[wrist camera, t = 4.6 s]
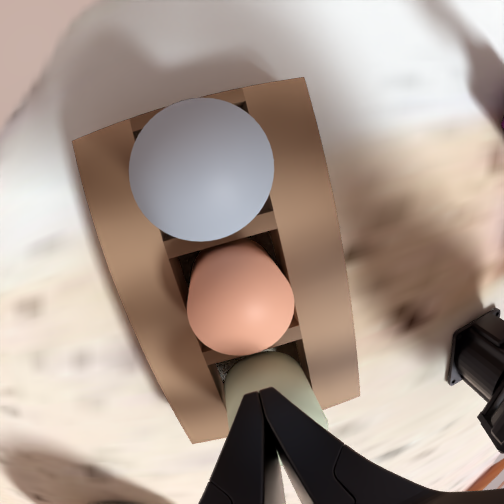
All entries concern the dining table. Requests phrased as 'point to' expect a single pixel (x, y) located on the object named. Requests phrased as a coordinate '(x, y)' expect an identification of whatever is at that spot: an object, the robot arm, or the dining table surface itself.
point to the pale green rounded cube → (271, 383)
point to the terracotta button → (238, 298)
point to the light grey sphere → (201, 169)
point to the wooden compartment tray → (268, 219)
